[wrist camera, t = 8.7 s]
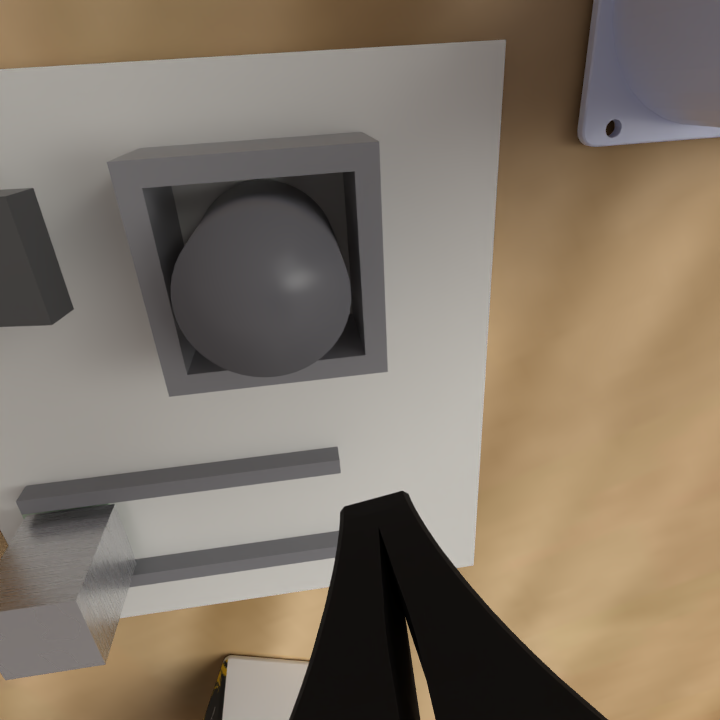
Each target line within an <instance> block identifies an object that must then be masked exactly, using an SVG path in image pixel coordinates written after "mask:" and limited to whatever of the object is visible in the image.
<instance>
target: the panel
mask: <svg viewBox="0 0 720 720" xmlns="http://www.w3.org/2000/svg"><path fill="white" fill-rule="evenodd" d="M505 49H506V40H489V41H472V42H455V43H438V44H421V45H404V46H387V47H370V48H353V49H336V50H319V51H302V52H285V53H268V54H251V55H234V56H217V57H200V58H183V59H166V60H149V61H132V62H115V63H98V64H81V65H64V66H47V67H30V68H13V69H0V190H4V189H23V188H34V191H35V194H36V197H37V200H38V203H39V206H40V209H41V212H42V215H43V218H44V221H45V224H46V227H47V230H48V233H49V236H50V239H51V242H52V245H53V248H54V251H55V254H56V257H57V260H58V263H59V266H60V269H61V272H62V275H63V278H64V281H65V284H66V287H67V290H68V293H69V296H70V299H71V302H72V305H73V308H74V310H72V311H71V312H69V313H68V314H67V315H65V316H64V317H63V318H61V319H60V320H58V321H57V322H56V323H54V324H53V325H44V326H16V327H0V530H1V532H2V534H3V536H4V538H5V540H6V541H7V543H8V545H9V544H10V542H11V541H12V539H13V537H14V536H15V534H16V532H17V531H18V529H19V527H20V526H21V524H22V522H23V521H24V519H25V517H26V516H27V515H33V514H41V513H48V512H56V511H64V510H71V509H79V508H87V507H94V506H102V505H110V504H115V505H116V508H117V511H118V513H119V516H120V519H121V522H122V524H123V527H124V530H125V533H126V535H127V538H128V541H129V544H130V546H131V549H132V552H133V555H134V557H135V560H136V567H135V570H134V573H133V576H132V580H131V583H130V586H129V589H128V593H127V596H126V599H125V602H124V606H123V609H122V612H121V615H120V618H125V617H131V616H138V615H145V614H151V613H158V612H165V611H171V610H178V609H185V608H191V607H198V606H205V605H212V604H218V603H225V602H232V601H238V600H245V599H252V598H258V597H265V596H272V595H278V594H285V593H292V592H299V591H305V590H312V589H319V588H325V587H329V586H330V581H331V577H332V572H333V567H334V561H335V556H336V550H337V543H338V535H339V525H340V511H341V510H342V509H343V507H344V506H348V505H351V504H355V503H359V502H362V501H366V500H370V499H374V498H377V497H381V496H385V495H388V494H392V493H396V492H399V491H404V492H406V493H408V494H409V496H410V498H411V501H412V503H413V505H414V507H415V509H416V510H417V512H418V514H419V516H420V517H421V519H422V521H423V522H424V524H425V526H426V527H427V529H428V530H429V532H430V533H431V535H432V536H433V538H434V539H435V540H436V542H437V543H438V545H439V546H440V547H441V549H442V550H443V552H444V553H445V554H446V555H447V557H448V558H449V559H450V561H451V562H452V563H453V565H454V566H455V567H456V568H459V567H466V566H472V565H474V549H475V533H476V517H477V500H478V484H479V468H480V452H481V436H482V420H483V404H484V388H485V371H486V355H487V339H488V323H489V307H490V291H491V275H492V259H493V242H494V226H495V210H496V194H497V178H498V162H499V146H500V130H501V113H502V97H503V81H504V65H505ZM255 180H271V181H278V182H282V183H286V184H288V185H291V186H293V187H296V188H297V189H299V190H301V191H303V192H304V193H305V194H307V195H308V196H309V197H311V198H312V199H313V200H314V201H315V202H316V203H317V204H318V205H319V206H320V208H321V209H322V210H323V211H324V213H325V215H326V216H327V218H328V220H329V222H330V225H331V227H332V229H333V232H334V235H335V238H336V241H337V244H338V247H339V249H340V252H341V255H342V258H343V261H344V264H345V266H346V269H347V273H348V276H349V280H350V287H351V306H350V313H349V317H348V320H347V323H346V325H345V328H344V330H343V332H342V334H341V336H340V337H339V339H338V341H337V342H336V343H335V344H334V346H333V347H332V348H331V349H330V350H329V351H328V352H327V353H326V354H325V355H324V356H323V357H322V358H320V359H319V360H318V361H316V362H315V363H313V364H312V365H310V366H308V367H306V368H304V369H302V370H299V371H297V372H294V373H291V374H287V375H283V376H277V377H252V376H246V375H241V374H237V373H234V372H231V371H228V370H226V369H224V368H221V367H219V366H218V365H216V364H214V363H212V362H211V361H209V360H208V359H207V358H205V357H204V356H203V355H201V354H200V353H199V352H198V351H197V350H196V349H195V348H194V347H193V346H192V345H191V343H190V342H189V341H188V340H187V338H186V337H185V335H184V334H183V332H182V331H181V329H180V327H179V325H178V322H177V320H176V318H175V314H174V311H173V307H172V301H171V280H172V274H173V270H174V266H175V263H176V261H177V259H178V257H179V254H180V253H181V251H182V249H183V248H184V246H185V245H186V243H187V241H188V240H189V238H190V237H191V235H192V233H193V232H194V230H195V229H196V227H197V225H198V224H199V222H200V221H201V219H202V217H203V216H204V214H205V213H206V211H207V209H208V208H209V206H210V205H211V204H212V203H213V202H214V201H215V199H216V198H218V197H219V196H220V195H221V194H222V193H224V192H225V191H227V190H228V189H230V188H232V187H234V186H236V185H239V184H242V183H245V182H249V181H255Z"/></svg>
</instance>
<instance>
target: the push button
mask: <svg viewBox="0 0 720 720" xmlns="http://www.w3.org/2000/svg"><path fill="white" fill-rule="evenodd" d="M171 301H172V307H173V311H174V314H175V318H176V320H177V322H178V325H179V327H180V329H181V331H182V332H183V334H184V335H185V337H186V338H187V340H188V341H189V342H190V343H191V345H192V346H193V347H194V348H195V349H196V350H197V351H198V352H199V353H200V354H201V355H203V356H204V357H205V358H207V359H208V360H209V361H211V362H212V363H214V364H216V365H218V366H219V367H221V368H224V369H226V370H228V371H231V372H234V373H237V374H241V375H246V376H252V377H277V376H283V375H287V374H291V373H294V372H297V371H299V370H302V369H304V368H306V367H308V366H310V365H312V364H313V363H315V362H316V361H318V360H319V359H320V358H322V357H323V356H324V355H325V354H326V353H327V352H328V351H329V350H330V349H331V348H332V347H333V346H334V344H335V343H336V342H337V341H338V339H339V337H340V336H341V334H342V332H343V330H344V328H345V325H346V323H347V320H348V317H349V313H350V306H351V287H350V280H349V276H348V273H347V269H346V266H345V264H344V261H343V258H342V255H341V252H340V249H339V247H338V244H337V241H336V238H335V235H334V232H333V229H332V227H331V225H330V222H329V220H328V218H327V216H326V215H325V213H324V211H323V210H322V209H321V208H320V206H319V205H318V204H317V203H316V202H315V201H314V200H313V199H312V198H311V197H309V196H308V195H307V194H305V193H304V192H303V191H301V190H299V189H297V188H296V187H293V186H291V185H288V184H286V183H282V182H278V181H271V180H255V181H249V182H245V183H242V184H239V185H236V186H234V187H232V188H230V189H228V190H227V191H225V192H224V193H222V194H221V195H220V196H219V197H218V198H216V199H215V201H214V202H213V203H212V204H211V205H210V206H209V208H208V209H207V211H206V213H205V214H204V216H203V217H202V219H201V221H200V222H199V224H198V225H197V227H196V229H195V230H194V232H193V233H192V235H191V237H190V238H189V240H188V241H187V243H186V245H185V246H184V248H183V249H182V251H181V253H180V254H179V257H178V259H177V261H176V263H175V266H174V270H173V274H172V280H171Z"/></svg>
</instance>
